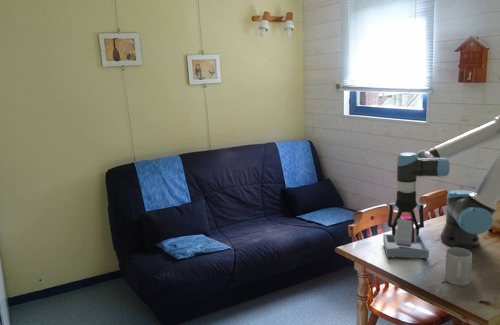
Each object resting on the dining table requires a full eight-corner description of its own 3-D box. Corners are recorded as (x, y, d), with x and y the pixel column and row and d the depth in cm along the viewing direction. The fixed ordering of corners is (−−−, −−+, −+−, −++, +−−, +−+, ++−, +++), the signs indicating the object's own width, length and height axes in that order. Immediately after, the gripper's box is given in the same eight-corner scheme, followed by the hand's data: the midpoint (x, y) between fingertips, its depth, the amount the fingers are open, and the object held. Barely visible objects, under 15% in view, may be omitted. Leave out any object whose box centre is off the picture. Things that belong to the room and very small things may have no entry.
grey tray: (421, 245, 184) (421, 235, 183) (428, 261, 169) (428, 250, 168) (383, 244, 188) (383, 234, 187) (386, 259, 172) (387, 249, 171)
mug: (444, 272, 159) (446, 246, 157) (470, 276, 156) (471, 248, 153) (444, 288, 149) (446, 259, 146) (471, 292, 145) (473, 262, 143)
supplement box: (411, 247, 173) (411, 221, 171) (396, 245, 176) (396, 219, 174) (413, 241, 178) (413, 216, 175) (399, 240, 181) (399, 214, 178)
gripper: (430, 187, 174) (428, 239, 179) (380, 187, 178) (379, 238, 183) (434, 193, 167) (431, 246, 172) (382, 192, 171) (381, 245, 176)
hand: (405, 242), depth 177 cm, fingers closed on supplement box, 7 cm apart
